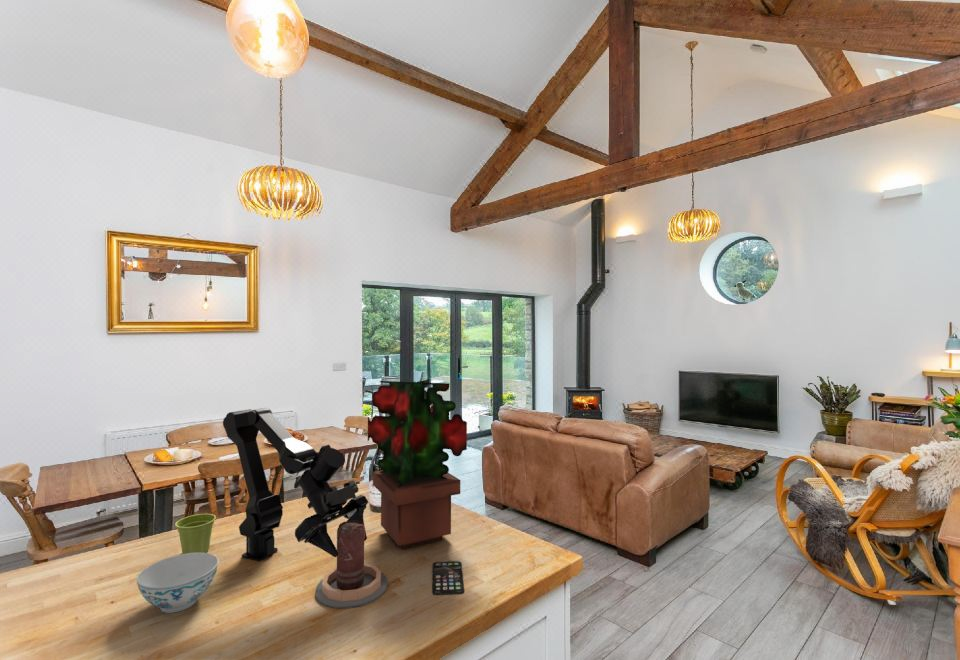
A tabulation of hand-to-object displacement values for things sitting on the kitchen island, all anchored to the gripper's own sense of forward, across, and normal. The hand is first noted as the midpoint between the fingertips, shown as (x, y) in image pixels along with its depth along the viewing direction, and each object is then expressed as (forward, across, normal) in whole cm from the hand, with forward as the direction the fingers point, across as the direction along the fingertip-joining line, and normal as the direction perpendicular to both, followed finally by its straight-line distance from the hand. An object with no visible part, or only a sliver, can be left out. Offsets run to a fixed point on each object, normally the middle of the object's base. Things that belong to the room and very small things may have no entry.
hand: (351, 547), depth 109 cm
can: (+6, 0, +6) cm, 9 cm away
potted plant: (+4, +30, +10) cm, 31 cm away
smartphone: (+19, +15, -5) cm, 25 cm away
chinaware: (-13, -23, +27) cm, 38 cm away
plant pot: (-28, -8, +42) cm, 51 cm away
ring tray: (+7, 0, +6) cm, 9 cm away
